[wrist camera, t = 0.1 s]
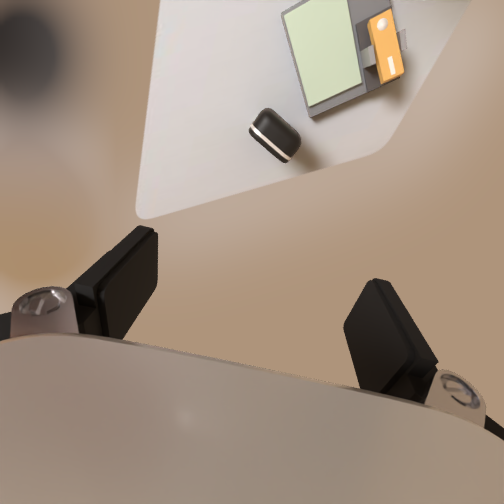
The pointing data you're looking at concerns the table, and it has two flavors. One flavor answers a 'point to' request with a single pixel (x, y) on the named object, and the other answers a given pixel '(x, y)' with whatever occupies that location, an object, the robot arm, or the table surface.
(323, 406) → the robot arm
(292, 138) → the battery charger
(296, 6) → the grey holder stand
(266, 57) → the table surface
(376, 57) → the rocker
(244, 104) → the table surface
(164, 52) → the table surface
